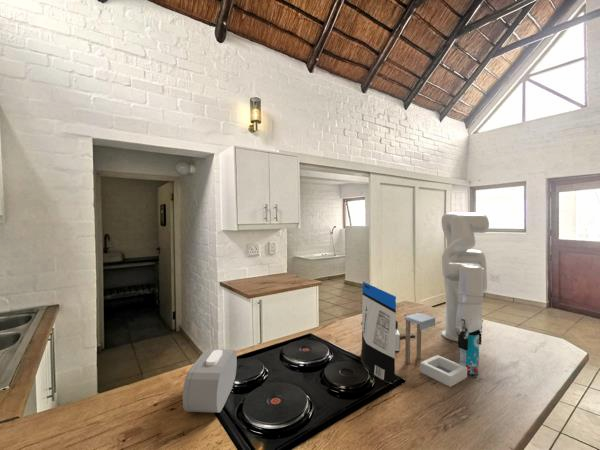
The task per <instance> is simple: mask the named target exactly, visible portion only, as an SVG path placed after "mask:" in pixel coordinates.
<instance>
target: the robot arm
mask: <svg viewBox="0 0 600 450" xmlns="http://www.w3.org/2000/svg"><path fill="white" fill-rule="evenodd" d="M441 228H442V232H443V233H444V236H445V240H446V248H445V249H444V250H443V252H442V256H441V269H442V276H443V281H444V282H443V283H444V288H445V330H442V332H441V336H442V337H443V338H444V339H447V340H449V341H453V342H457V347H458V348H459V349H460V348H461V349H463V350H466V351H467V350H468V339H467V337H468V334H469V333H471V332H474V331H478V332H479V346H480V345H482V334H483V322H484V320H483V311H482V310H483V309H482V308H483V307H482V306H483V304H484V303H483V301H484V300H483V299H484V298H483V297H484V296H483V295H484V293H486V291H487V290H488V277H487V275H488V274H487V260H486V259H487V258H486V255H485V253H484V252H483V251H482V250H478V249H473V248H474V247H475V245H476V238H475V233H476V234H477V233H478V234H479V233H480V234H482V233H483V234H484V233H485V234H486V233H487V232H488V230H489V228H490V222H489V219H488V216H487V215H486V214H485V213H482V212H446V213H445V214H443V215H442V217H441ZM463 328H464V329H463ZM465 329H467V330H465ZM462 331H463V332H465V335H464V333H463V332H462Z"/></svg>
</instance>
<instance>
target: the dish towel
mask: <svg viewBox="0 0 600 450" xmlns="http://www.w3.org/2000/svg"><path fill="white" fill-rule="evenodd" d="M361 324H362V321H361ZM398 331H399V334H400V340H406V328H404V327H403V326H401V325H400V324H398ZM411 338H412V339H413V338H414V339H415V338H416V335H414V334H413V333H411V332H410V339H411Z"/></svg>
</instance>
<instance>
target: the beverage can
mask: <svg viewBox="0 0 600 450" xmlns="http://www.w3.org/2000/svg"><path fill="white" fill-rule="evenodd" d="M463 329H464V328H463ZM465 330H467V329H465ZM462 332H463V331H462ZM463 333H464V335H465V332H463ZM467 339H468V350H467V351H466V350H463V349H461V348H459V364H460V365H463V366H465V367H467V376H468V375H469V376H477V375H479V373H480V372H479V367H480V363H479V362H480V345H479V332H478V331H474V332H471V333H469V334H468V337H467Z"/></svg>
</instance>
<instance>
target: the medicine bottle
mask: <svg viewBox="0 0 600 450" xmlns="http://www.w3.org/2000/svg"><path fill="white" fill-rule="evenodd" d="M398 322H399V321H398V320H396V331H395V352H400V350H401V339H400V334H399V331H398V325H399V323H398Z"/></svg>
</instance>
